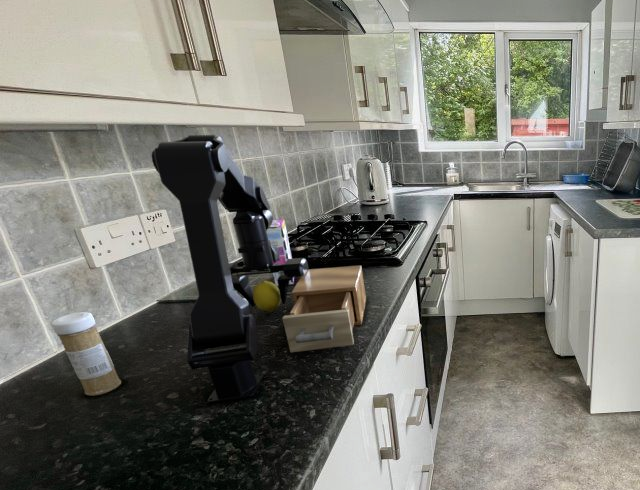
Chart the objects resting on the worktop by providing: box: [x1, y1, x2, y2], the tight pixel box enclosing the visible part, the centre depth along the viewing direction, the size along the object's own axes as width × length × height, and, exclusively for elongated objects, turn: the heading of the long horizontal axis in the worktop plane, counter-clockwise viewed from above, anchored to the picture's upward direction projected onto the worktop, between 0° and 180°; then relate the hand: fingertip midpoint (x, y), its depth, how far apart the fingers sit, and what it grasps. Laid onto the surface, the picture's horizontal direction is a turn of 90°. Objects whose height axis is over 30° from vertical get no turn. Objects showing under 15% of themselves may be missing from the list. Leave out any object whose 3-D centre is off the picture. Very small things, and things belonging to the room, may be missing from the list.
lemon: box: [252, 280, 282, 313], centre depth 95 cm, size 6×6×8 cm
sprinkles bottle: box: [50, 311, 122, 397], centre depth 66 cm, size 5×5×13 cm
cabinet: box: [291, 265, 367, 326], centre depth 94 cm, size 15×13×9 cm
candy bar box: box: [266, 218, 295, 287], centre depth 114 cm, size 11×5×16 cm, turn 25°
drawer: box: [282, 291, 356, 353], centre depth 82 cm, size 18×11×7 cm, turn 14°
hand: (269, 304), depth 96 cm, fingers open, 6 cm apart
